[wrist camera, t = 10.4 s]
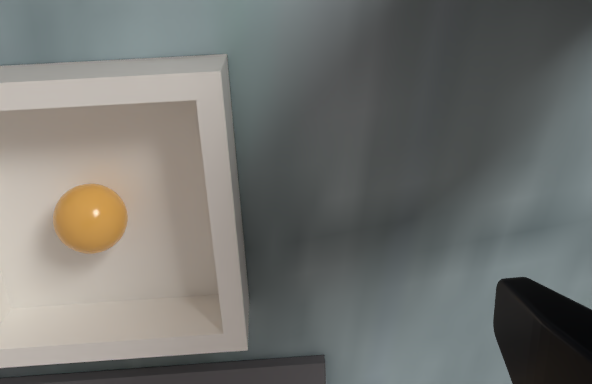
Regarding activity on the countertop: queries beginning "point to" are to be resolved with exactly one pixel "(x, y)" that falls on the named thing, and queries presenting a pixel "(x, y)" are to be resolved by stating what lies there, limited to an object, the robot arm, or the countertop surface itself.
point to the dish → (161, 197)
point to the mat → (199, 374)
